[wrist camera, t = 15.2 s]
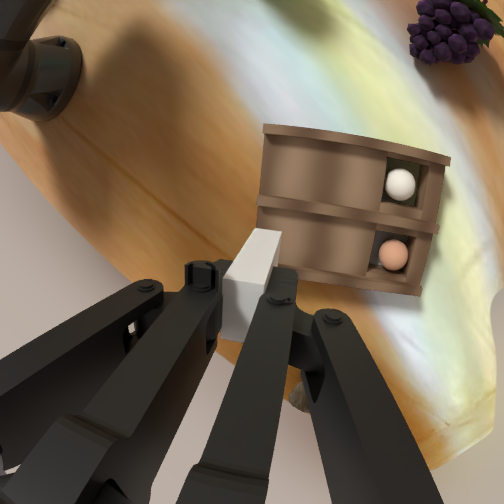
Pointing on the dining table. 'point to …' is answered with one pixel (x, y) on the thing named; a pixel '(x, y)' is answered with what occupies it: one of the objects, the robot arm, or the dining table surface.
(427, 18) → the fruit
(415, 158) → the board
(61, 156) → the dining table surface
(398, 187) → the ball cream
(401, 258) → the ball terracotta
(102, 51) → the dining table surface
